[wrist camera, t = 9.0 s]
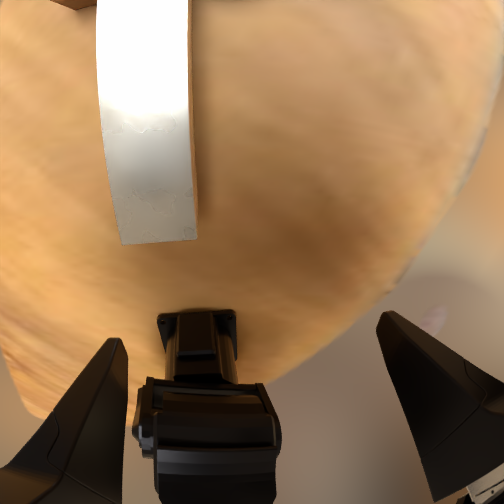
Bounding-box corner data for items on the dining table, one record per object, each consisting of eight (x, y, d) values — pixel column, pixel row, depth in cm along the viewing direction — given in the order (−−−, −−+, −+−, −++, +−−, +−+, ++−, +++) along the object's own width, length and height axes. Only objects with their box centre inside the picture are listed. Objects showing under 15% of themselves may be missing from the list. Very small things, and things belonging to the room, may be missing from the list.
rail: (198, 200, 20) (198, 240, 15) (137, 205, 19) (120, 246, 15) (194, -40, 11) (192, -75, 7) (125, -31, 10) (101, -60, 6)
